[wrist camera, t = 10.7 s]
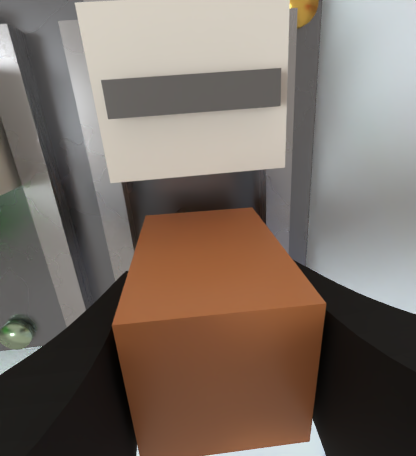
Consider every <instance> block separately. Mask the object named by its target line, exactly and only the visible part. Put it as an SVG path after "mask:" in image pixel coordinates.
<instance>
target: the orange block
mask: <svg viewBox="0 0 416 456" xmlns="http://www.w3.org/2000/svg"><path fill="white" fill-rule="evenodd" d="M325 311H326V302H325V301H324V300H323V298H322V297H321V296H320V294H319V293H318V292H317V291H316V289H315V288H314V287H313V285H312V284H311V283H310V281H309V280H308V279H307V278H306V276H305V275H304V274H303V272H302V271H301V270H300V268H299V267H298V266H297V265H296V263H295V262H294V261H293V259H292V258H291V257H290V256H289V254H288V253H287V252H286V250H285V249H284V248H283V246H282V245H281V244H280V243H279V241H278V240H277V239H276V237H275V236H274V235H273V233H272V232H271V231H270V230H269V228H268V227H267V226H266V224H265V223H264V222H263V221H262V219H261V218H260V217H259V215H258V214H257V213H256V211H255V210H254V209H253V208H252V207H250V208H237V209H224V210H211V211H198V212H185V213H172V214H159V215H146V216H145V219H144V223H143V226H142V229H141V232H140V236H139V239H138V242H137V245H136V249H135V252H134V255H133V258H132V262H131V265H130V268H129V271H128V274H127V278H126V281H125V284H124V287H123V291H122V294H121V297H120V300H119V304H118V307H117V310H116V313H115V317H114V320H113V323H112V329H113V333H114V338H115V343H116V347H117V352H118V357H119V361H120V366H121V370H122V375H123V380H124V384H125V389H126V394H127V398H128V403H129V408H130V412H131V417H132V422H133V426H134V431H135V436H136V440H137V445H138V450H139V454H140V456H205V455H213V454H220V453H227V452H235V451H242V450H250V449H257V448H264V447H272V446H279V445H287V444H294V443H301V442H309V441H310V433H311V425H312V417H313V409H314V401H315V393H316V384H317V376H318V368H319V360H320V352H321V343H322V335H323V327H324V319H325Z"/></svg>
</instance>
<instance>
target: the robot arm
mask: <svg viewBox="0 0 416 456" xmlns="http://www.w3.org/2000/svg"><path fill="white" fill-rule="evenodd" d="M293 261H294V262H295V263H296V265H297V266H298V267H299V268H300V270H301V271H302V272H303V274H304V275H305V276H306V278H307V279H308V280H309V281H310V283H311V284H312V285H313V287H314V288H315V289H316V291H317V292H318V293H319V294H320V296H321V297H322V298H323V300H324V301H325V302H326V311H325V319H324V327H323V335H322V343H321V352H320V360H319V368H318V376H317V384H316V393H315V401H314V409H313V417H312V418H313V421H314V424H315V426H316V429H317V432H318V434H319V437H320V440H321V443H322V445H323V448H324V451H325V454H326V456H416V314H412V313H409V312H406V311H403V310H401V309H398V308H395V307H392V306H389V305H387V304H384V303H382V302H379V301H376V300H374V299H371V298H369V297H366V296H364V295H362V294H359V293H357V292H355V291H353V290H351V289H348V288H346V287H344V286H342V285H340V284H338V283H336V282H334V281H332V280H330V279H328V278H326V277H324V276H322V275H320V274H318V273H317V272H315V271H313V270H311V269H309V268H307V267H306V266H304V265H302V264H300V263H298V262H297V261H295V260H293ZM127 274H128V271H125V272H124V273H123V274H122V275H121V276H120V277H119V278H118V279H117V280H116V281H115V282H114V283H113V284H112V285H111V286H110V288H109V289H108V290H107V291H106V292H105V293H104V294H103V295H102V296H101V297H100V298H99V299H98V300H97V301H96V302H95V303H94V304H92V305H91V306H90V307H89V308H88V309H87V310H86V311H85V312H84V313H83V314H81V315H80V316H79V317H78V318H77V319H76V320H75V321H74V322H73V323H71V324H70V325H69V326H68V327H67V328H66V329H64V330H63V331H62V332H61V333H59V334H58V335H57V336H56V337H54V338H53V339H52V340H50V341H49V342H48V343H46V344H45V345H44V346H42V347H41V348H40V349H38V350H37V351H35V352H34V353H33V354H31V355H30V356H28V357H27V358H25V359H24V360H22V361H21V362H19V363H18V364H16V365H15V366H13V367H12V368H10V369H8V370H7V371H5V372H4V373H2V374H1V375H0V456H136V452H137V440H136V436H135V431H134V426H133V422H132V417H131V412H130V408H129V403H128V398H127V394H126V389H125V384H124V380H123V375H122V370H121V366H120V361H119V357H118V352H117V347H116V343H115V338H114V333H113V329H112V323H113V320H114V317H115V313H116V310H117V307H118V304H119V300H120V297H121V294H122V291H123V287H124V284H125V281H126V278H127Z"/></svg>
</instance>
